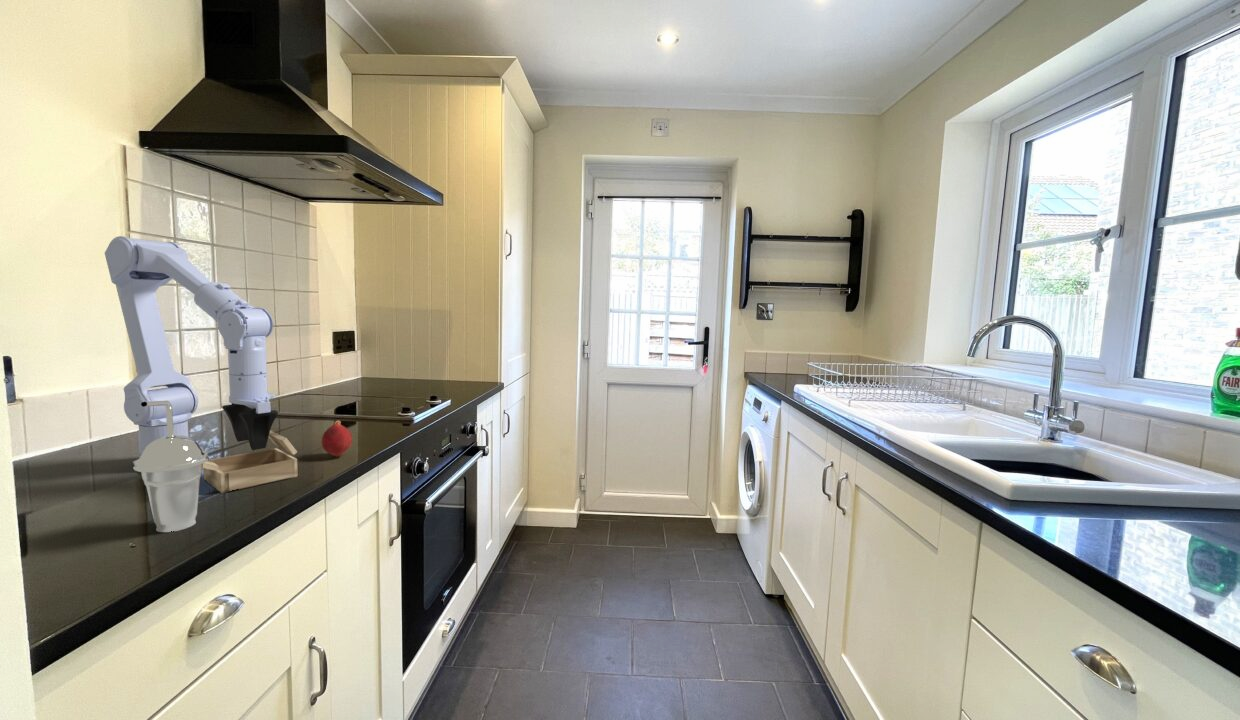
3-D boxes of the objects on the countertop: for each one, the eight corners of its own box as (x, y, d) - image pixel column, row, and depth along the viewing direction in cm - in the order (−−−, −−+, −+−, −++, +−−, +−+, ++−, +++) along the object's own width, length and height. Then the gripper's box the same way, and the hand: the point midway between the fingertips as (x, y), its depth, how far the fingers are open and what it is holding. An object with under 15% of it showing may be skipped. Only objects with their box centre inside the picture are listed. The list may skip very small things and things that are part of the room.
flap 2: (264, 431, 102) (268, 429, 102) (275, 445, 103) (279, 442, 104) (282, 440, 96) (286, 438, 97) (293, 454, 98) (297, 452, 99)
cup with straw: (226, 518, 80) (220, 392, 77) (162, 544, 71) (153, 403, 69) (185, 510, 82) (178, 387, 79) (117, 535, 73) (107, 397, 71)
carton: (203, 478, 95) (202, 460, 95) (276, 464, 105) (275, 447, 104) (222, 494, 89) (221, 474, 88) (298, 476, 98) (298, 459, 98)
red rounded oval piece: (339, 462, 108) (338, 425, 107) (315, 459, 109) (314, 422, 108) (358, 454, 113) (357, 419, 112) (335, 451, 115) (335, 416, 114)
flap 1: (203, 455, 94) (200, 459, 94) (180, 449, 91) (178, 454, 91) (219, 466, 89) (216, 470, 89) (195, 460, 86) (193, 465, 86)
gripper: (288, 376, 93) (290, 448, 95) (258, 367, 102) (261, 433, 104) (242, 379, 88) (245, 456, 89) (215, 370, 96) (218, 439, 98)
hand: (251, 444), depth 96 cm, fingers open, 7 cm apart
